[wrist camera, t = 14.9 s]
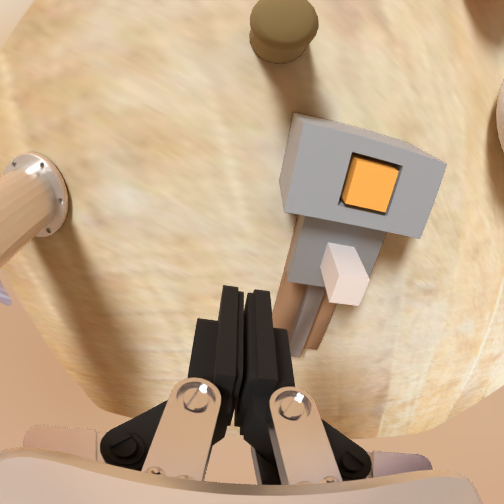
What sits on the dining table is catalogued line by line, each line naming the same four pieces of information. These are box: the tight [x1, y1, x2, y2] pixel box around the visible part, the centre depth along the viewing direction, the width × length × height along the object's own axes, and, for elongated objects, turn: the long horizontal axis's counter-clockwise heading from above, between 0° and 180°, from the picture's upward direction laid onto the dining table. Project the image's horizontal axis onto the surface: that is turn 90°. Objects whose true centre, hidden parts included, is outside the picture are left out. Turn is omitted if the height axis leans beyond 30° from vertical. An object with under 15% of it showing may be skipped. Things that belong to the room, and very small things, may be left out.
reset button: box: [340, 152, 399, 212], centre depth 28 cm, size 4×4×4 cm
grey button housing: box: [279, 112, 447, 239], centre depth 30 cm, size 15×8×9 cm, turn 80°
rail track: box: [272, 214, 337, 357], centre depth 41 cm, size 8×24×4 cm, turn 170°
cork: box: [249, 0, 319, 63], centre depth 23 cm, size 6×6×11 cm
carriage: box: [286, 215, 387, 306], centre depth 32 cm, size 9×8×10 cm
